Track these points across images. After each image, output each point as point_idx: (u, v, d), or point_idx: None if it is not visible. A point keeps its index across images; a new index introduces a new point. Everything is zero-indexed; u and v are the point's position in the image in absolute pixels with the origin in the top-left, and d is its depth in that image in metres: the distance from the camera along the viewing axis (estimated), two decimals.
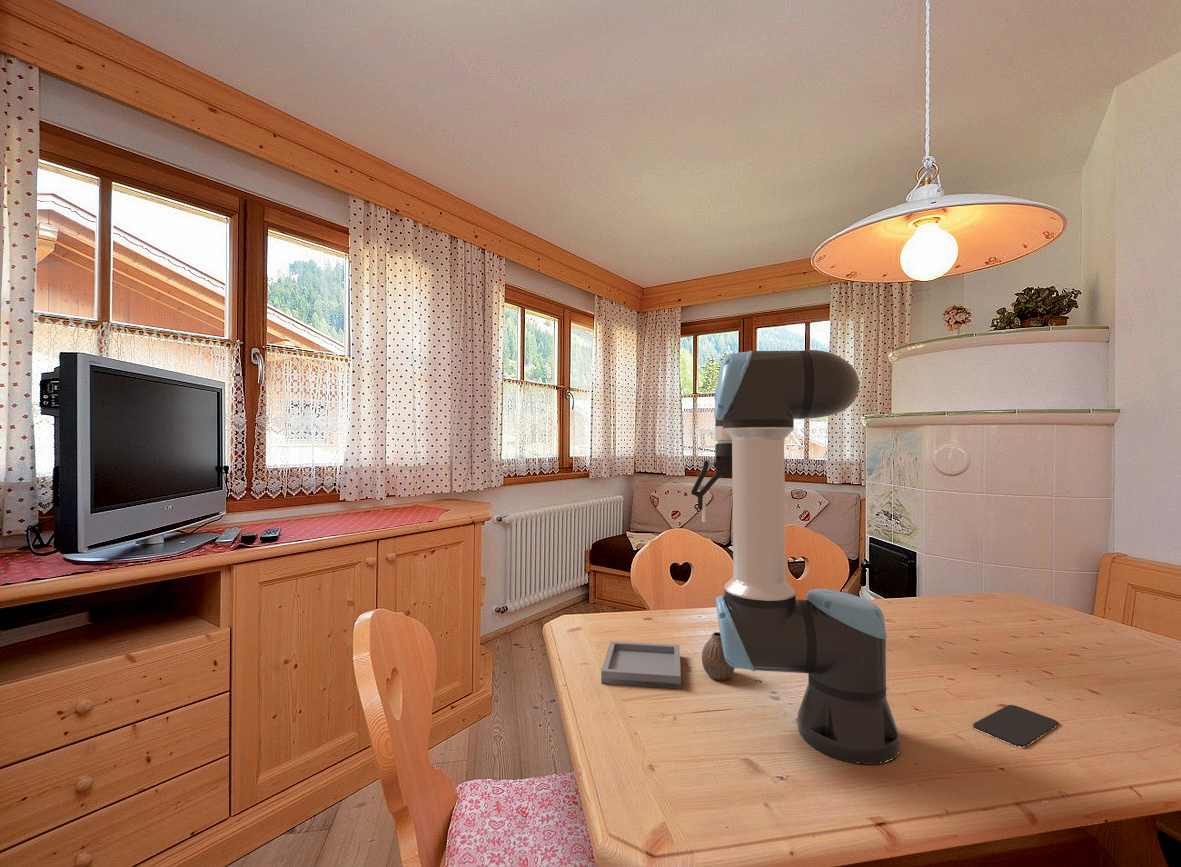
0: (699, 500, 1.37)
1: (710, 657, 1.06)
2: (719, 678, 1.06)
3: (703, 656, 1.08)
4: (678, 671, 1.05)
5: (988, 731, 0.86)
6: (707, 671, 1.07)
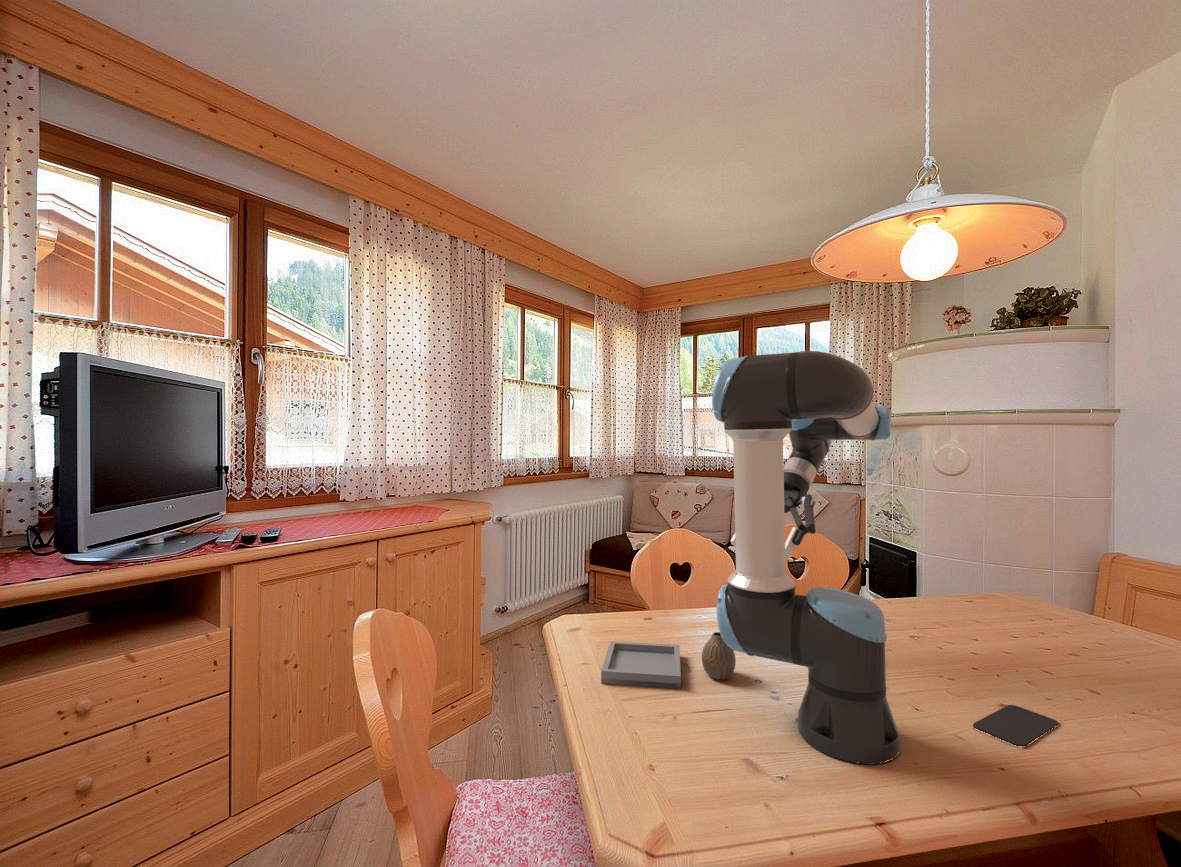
0: None
1: (709, 657, 1.06)
2: (719, 678, 1.06)
3: (703, 656, 1.08)
4: (678, 671, 1.05)
5: (988, 731, 0.86)
6: (707, 671, 1.07)
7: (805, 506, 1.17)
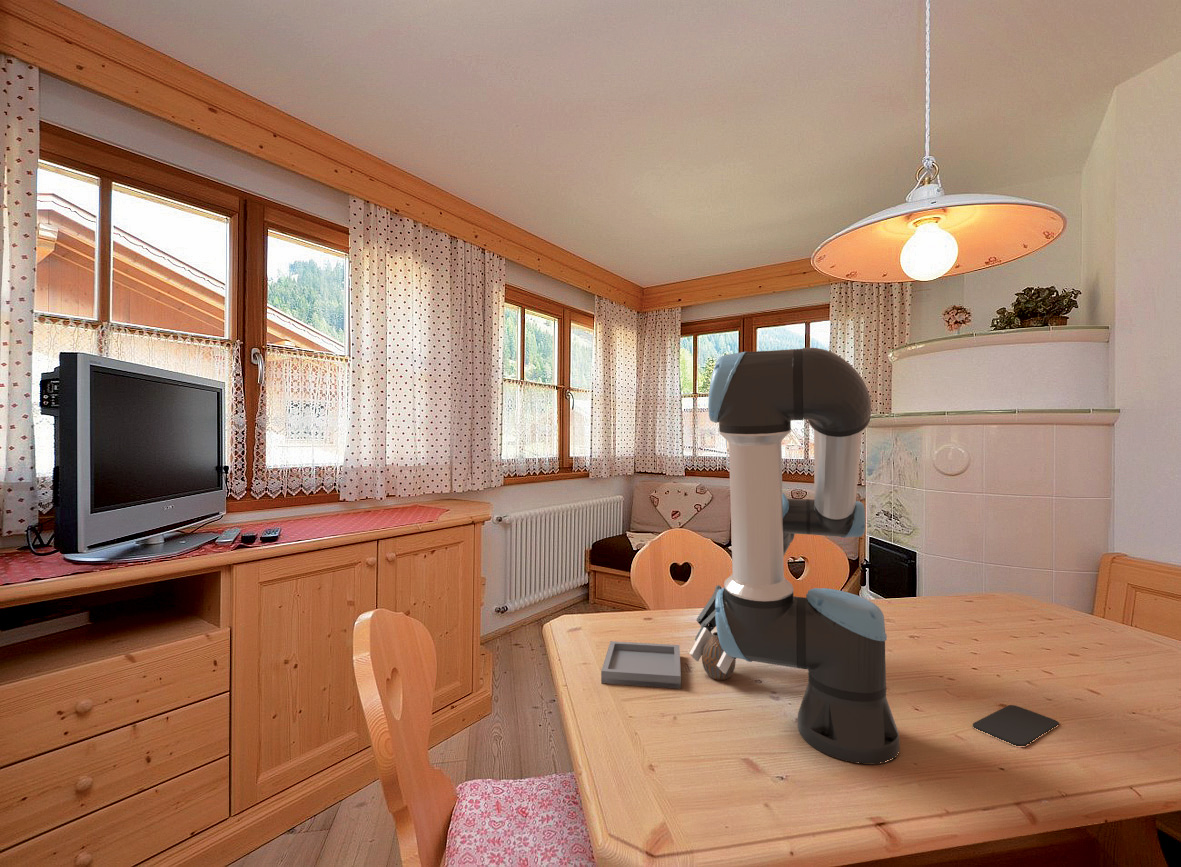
0: (700, 630, 1.12)
1: (710, 657, 1.06)
2: (719, 678, 1.06)
3: (703, 656, 1.08)
4: (678, 671, 1.05)
5: (988, 731, 0.86)
6: (707, 671, 1.07)
7: None
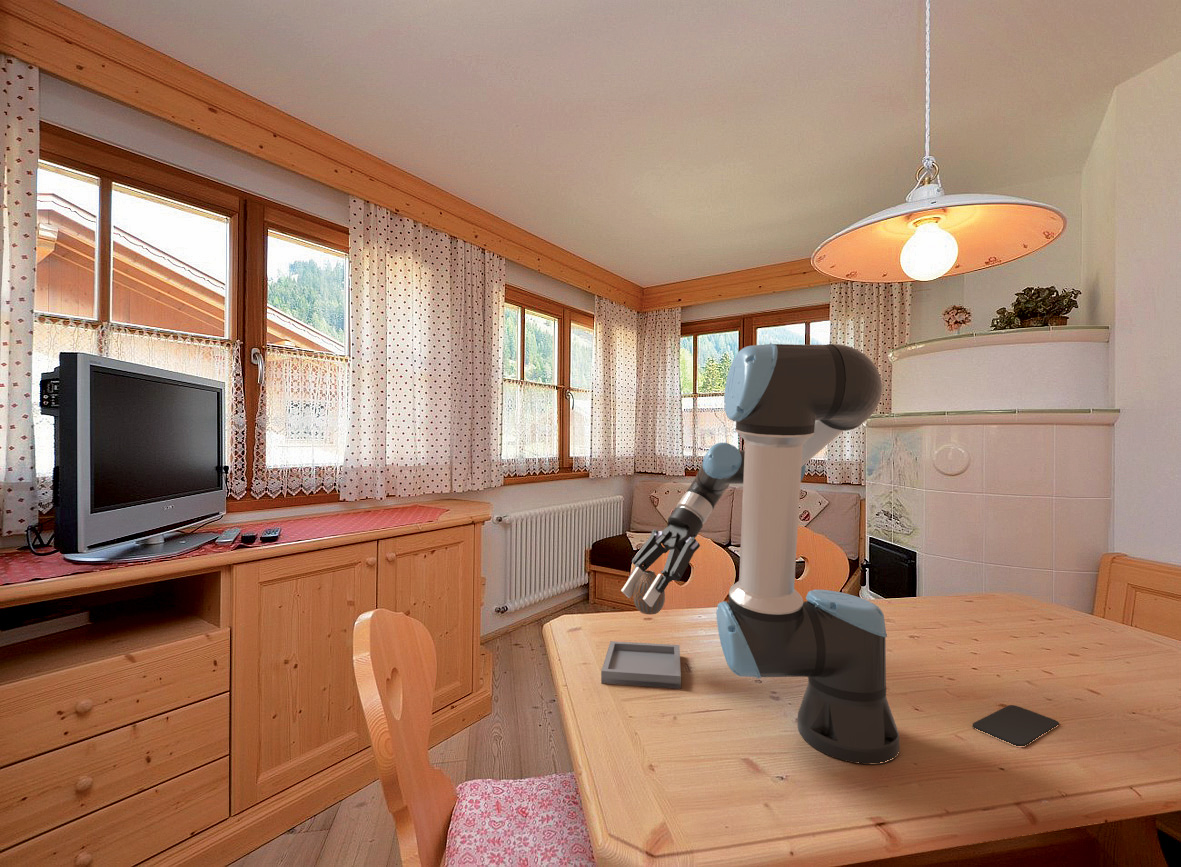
0: (634, 570, 1.17)
1: (639, 592, 1.11)
2: (647, 612, 1.11)
3: (634, 592, 1.12)
4: (678, 671, 1.05)
5: (987, 731, 0.86)
6: (637, 606, 1.11)
7: (682, 550, 1.11)
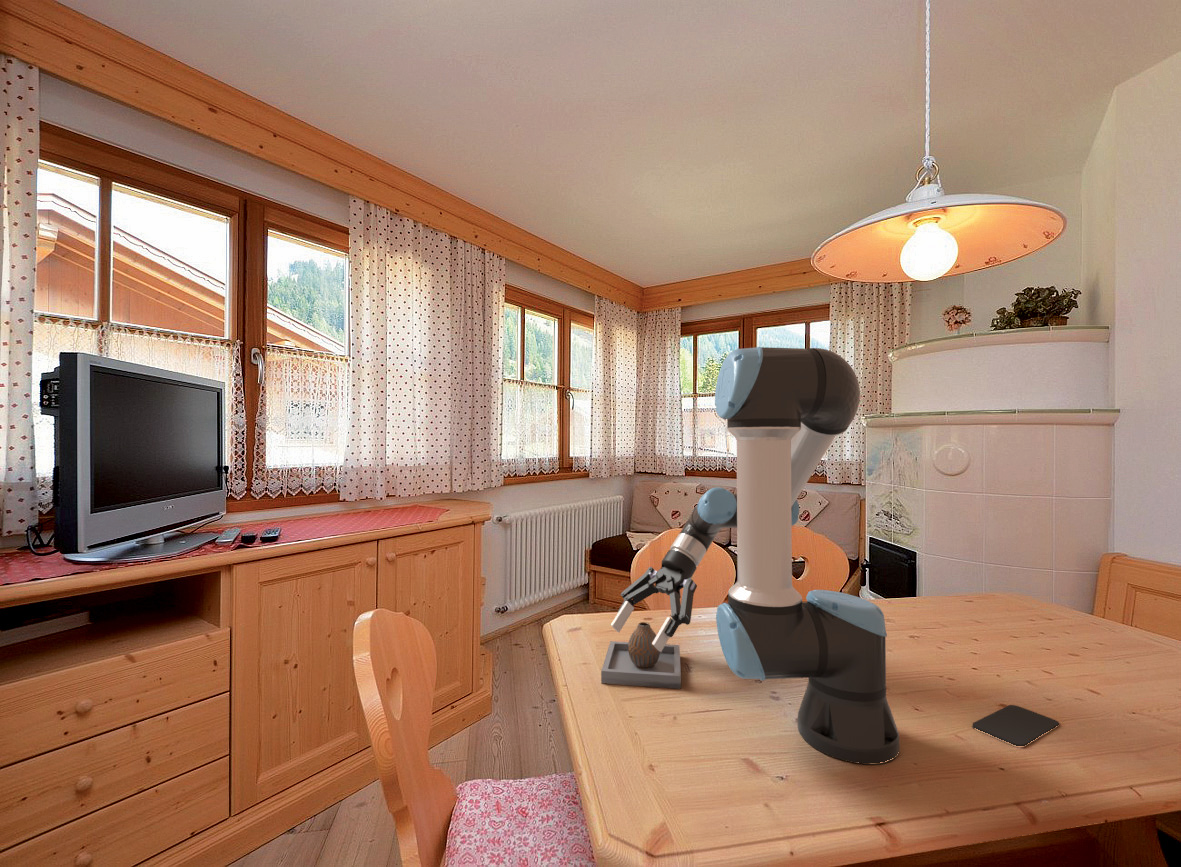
0: (623, 604, 1.19)
1: (634, 646, 1.09)
2: (643, 666, 1.09)
3: (629, 645, 1.11)
4: (678, 671, 1.05)
5: (987, 731, 0.86)
6: (632, 660, 1.10)
7: (684, 592, 1.10)
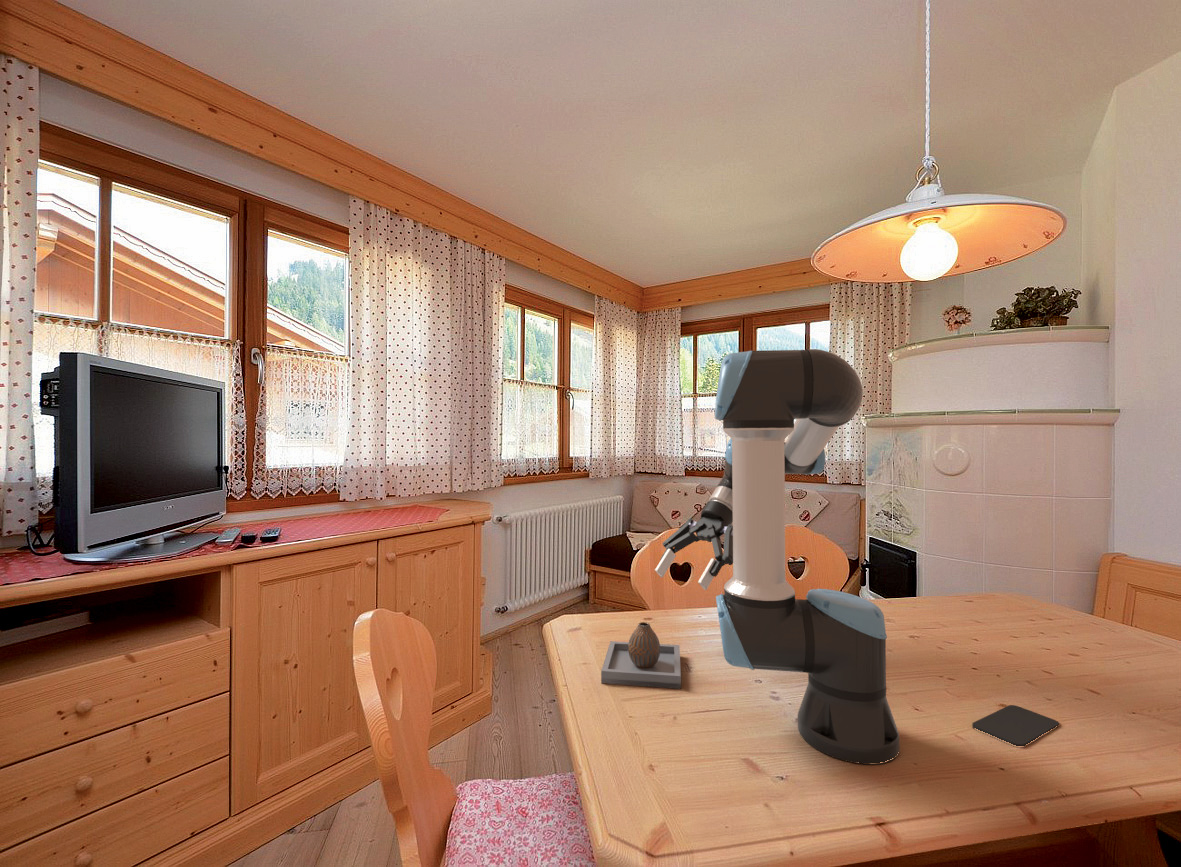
0: (665, 551, 1.27)
1: (634, 646, 1.09)
2: (643, 666, 1.09)
3: (629, 645, 1.11)
4: (678, 671, 1.05)
5: (987, 730, 0.86)
6: (632, 660, 1.10)
7: (725, 537, 1.18)
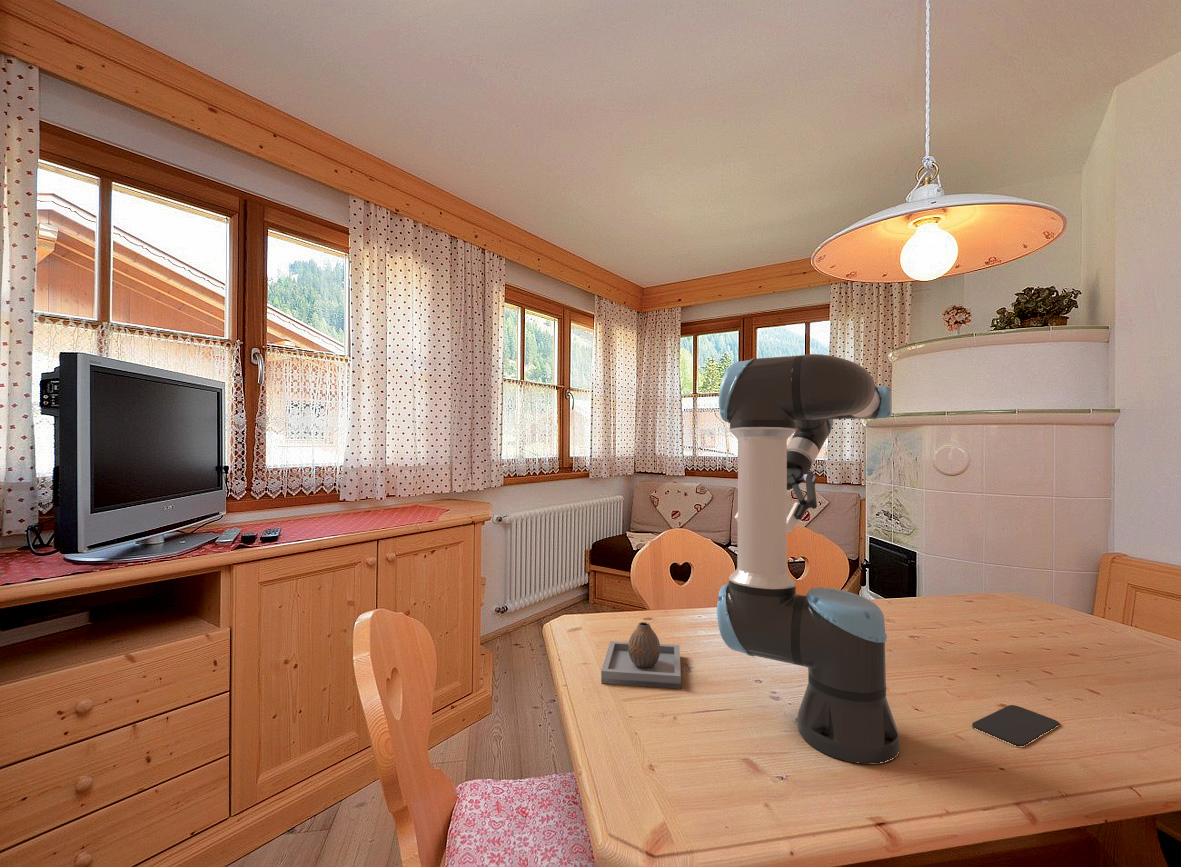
0: None
1: (634, 646, 1.09)
2: (643, 666, 1.09)
3: (629, 645, 1.11)
4: (678, 671, 1.05)
5: (987, 731, 0.86)
6: (632, 660, 1.10)
7: (807, 483, 1.21)
